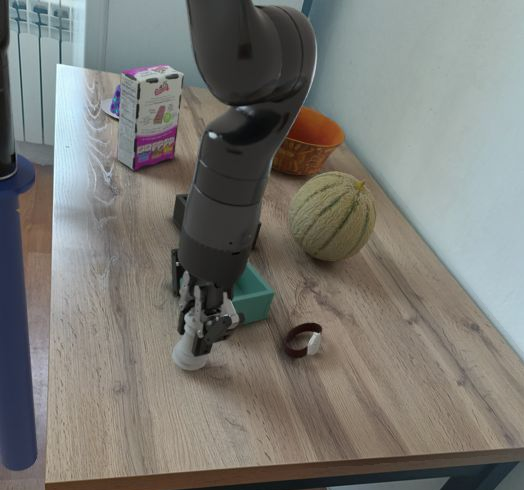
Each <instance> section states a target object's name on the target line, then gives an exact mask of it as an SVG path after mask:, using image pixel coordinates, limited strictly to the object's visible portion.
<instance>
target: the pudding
mask: <svg viewBox="0 0 524 490" xmlns="http://www.w3.org/2000/svg"><path fill="white" fill-rule="evenodd" d="M119 107H120V84H117V86H116V88H115V91H114V94H113V97H108V98H106V99H103V100H102V101H101V102H100V108H101V110H102V111H103V112H104V113H106V114H107V115H109V116H111V117H112V118H115V119H118V120H119Z"/></svg>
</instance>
